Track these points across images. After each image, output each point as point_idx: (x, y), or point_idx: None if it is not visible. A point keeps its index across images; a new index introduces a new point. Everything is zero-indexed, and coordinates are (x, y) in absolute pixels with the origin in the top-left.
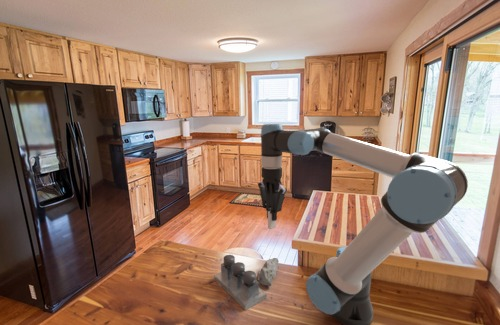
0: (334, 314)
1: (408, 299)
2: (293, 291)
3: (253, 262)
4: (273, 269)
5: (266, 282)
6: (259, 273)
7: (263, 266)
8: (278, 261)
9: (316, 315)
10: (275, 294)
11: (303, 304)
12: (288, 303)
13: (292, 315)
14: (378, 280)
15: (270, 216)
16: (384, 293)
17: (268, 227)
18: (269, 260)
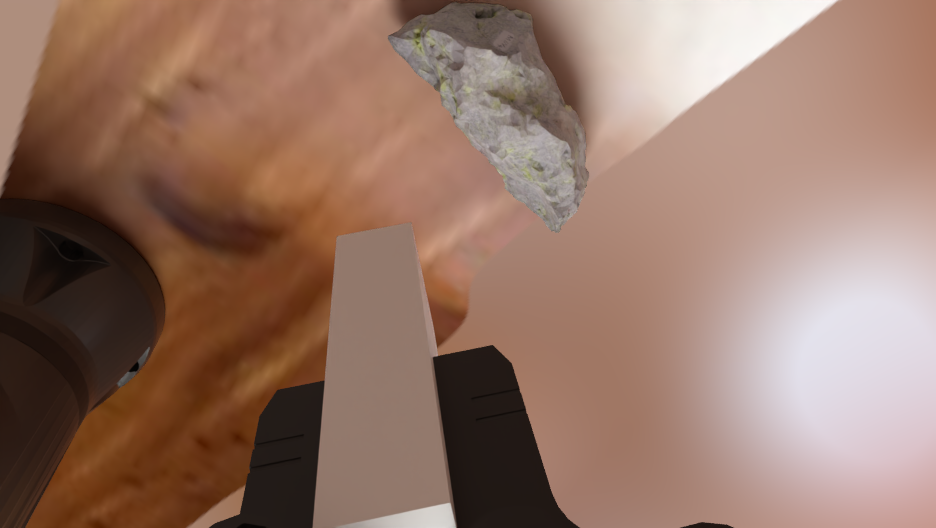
0: (1, 209)
1: (41, 523)
2: (301, 147)
3: (688, 99)
4: (472, 135)
5: (418, 23)
6: (521, 32)
7: (549, 96)
8: (547, 226)
9: (65, 131)
10: (329, 29)
11: (175, 126)
12: (218, 51)
13: (109, 2)
14: (193, 516)
15: (331, 426)
16: (106, 482)
17: (399, 232)
18: (559, 165)
